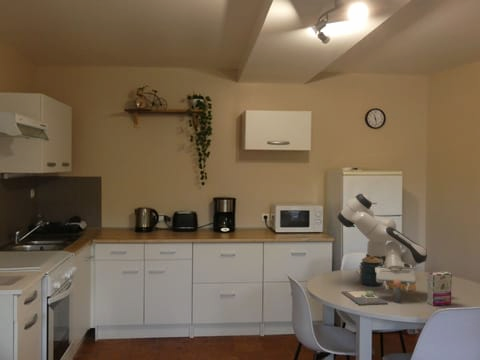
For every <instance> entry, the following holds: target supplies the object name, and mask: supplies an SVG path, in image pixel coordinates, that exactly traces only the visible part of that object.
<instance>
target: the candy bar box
mask: <svg viewBox="0 0 480 360" xmlns="http://www.w3.org/2000/svg"><path fill="white" fill-rule="evenodd" d="M452 276H453V275H452V273H451V272H449V271H446V270H445V271H433V272H427V302H426V303H427V304H428V305H430V306H433V307H437V306H447V305H449V306H450V305H452V278H453V277H452Z"/></svg>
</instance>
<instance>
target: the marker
mask: <svg viewBox="0 0 480 360" xmlns="http://www.w3.org/2000/svg"><path fill="white" fill-rule="evenodd" d="M392 285H393V286H392V287H393V289H392V290H393V291H392V293H393V294H392V302H393V303H397V304H399V303H401V285H402V284H401V281H398V280H394V284H392Z"/></svg>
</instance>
